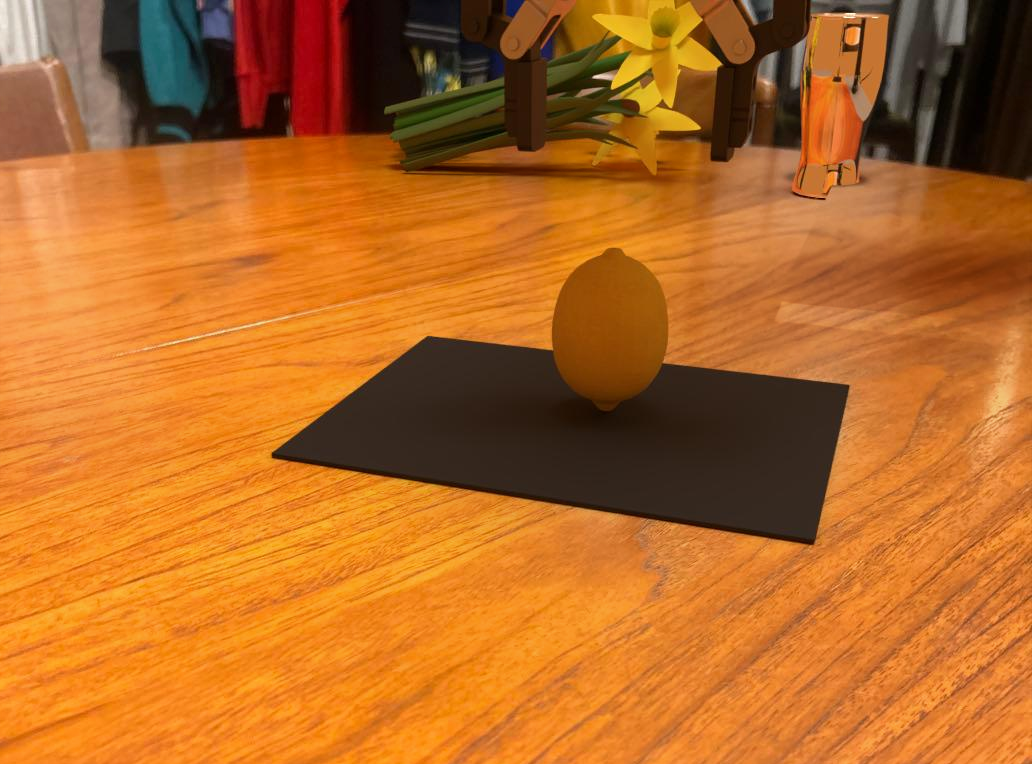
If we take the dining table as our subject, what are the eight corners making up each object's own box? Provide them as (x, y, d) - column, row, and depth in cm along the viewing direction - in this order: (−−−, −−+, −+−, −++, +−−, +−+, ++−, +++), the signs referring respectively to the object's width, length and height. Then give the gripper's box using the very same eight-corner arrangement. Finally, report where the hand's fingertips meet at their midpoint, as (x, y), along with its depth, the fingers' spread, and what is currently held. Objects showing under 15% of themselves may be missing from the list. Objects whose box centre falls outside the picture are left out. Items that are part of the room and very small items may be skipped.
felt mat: (849, 388, 57) (849, 384, 57) (814, 544, 42) (814, 539, 42) (427, 338, 64) (427, 335, 64) (271, 457, 50) (271, 452, 49)
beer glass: (868, 201, 98) (898, 17, 91) (789, 199, 99) (812, 16, 92) (858, 186, 104) (885, 12, 97) (783, 184, 105) (804, 12, 98)
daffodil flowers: (428, 158, 124) (739, 73, 114) (422, 252, 116) (755, 170, 106) (367, 29, 110) (714, -79, 100) (356, 127, 103) (730, 20, 93)
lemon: (629, 384, 57) (639, 229, 53) (682, 423, 52) (697, 256, 49) (532, 398, 55) (534, 239, 51) (578, 439, 51) (585, 268, 47)
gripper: (426, -313, 39) (441, 161, 47) (839, -350, 35) (780, 179, 42) (497, -278, 45) (500, 135, 53) (855, -306, 41) (801, 148, 49)
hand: (624, 154), depth 48 cm, fingers open, 8 cm apart
